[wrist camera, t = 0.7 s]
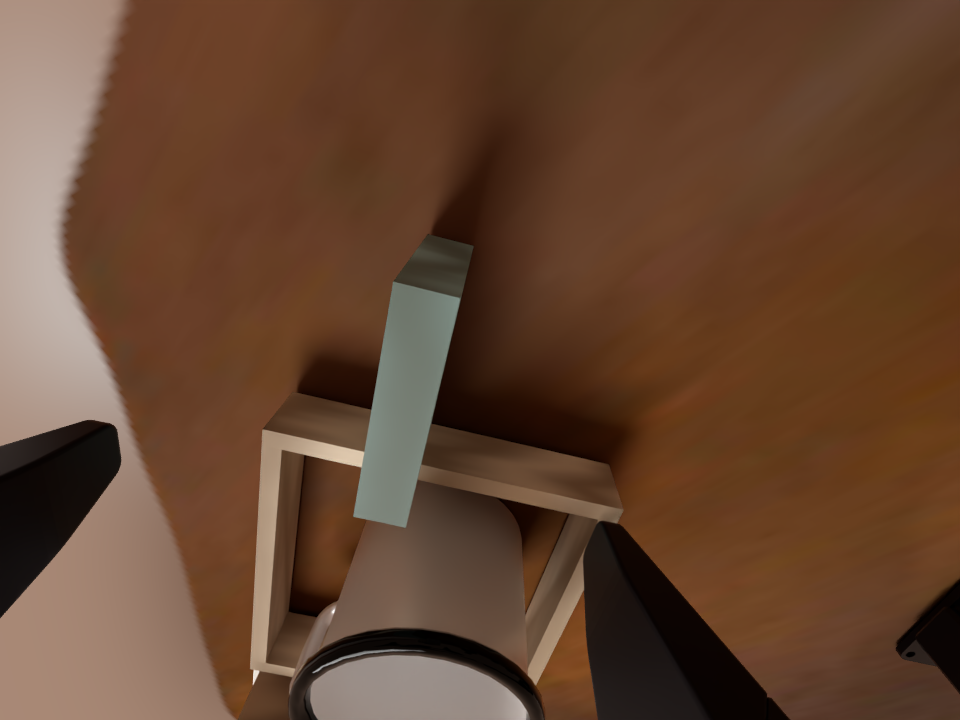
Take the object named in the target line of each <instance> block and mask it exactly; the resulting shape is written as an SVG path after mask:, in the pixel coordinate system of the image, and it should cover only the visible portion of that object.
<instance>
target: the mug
mask: <svg viewBox="0 0 960 720" xmlns="http://www.w3.org/2000/svg"><path fill="white" fill-rule="evenodd" d="M329 625H330V626H329ZM328 627H329V629H328ZM327 629H328V631H327ZM326 631H327V634H326V637H325V640H324V643H323V646H322V648H321V649H320V650H319V648H320V646H321V643H322V641H323V638H324V636H325V633H326ZM288 716H289V719H290V720H545V707H544V703H543V700H542V696H541V694H540V692H539V690H538V689H537V687H536V685H535V684H534V682H533V680H532V679H531V678H530V677H529V676H528V664H527V643H526V621H525V599H524V577H523V555H522V537H521V533H520V528H519V525H518V523H517V521H516V520H515V518H514V516H513V514H512V513H511V512H510V511H509V509H508V508H507V507H506V506H505V505H504V504H503V503H502V502H501V501H499V500H498V499H497V498H496V497H493V496H489V495H484V494H480V493H475V492H471V491H466V490H462V489H457V488H452V487H448V486H443V485H439V484H434V483H430V482H425V481H417V484H416V488H415V492H414V496H413V500H412V504H411V509H410V513H409V517H408V521H407V525H406V528H404V527H399V526H395V525H390V524H385V523H381V522H376V521H371V520H366V522H365V525H364V528H363V531H362V534H361V537H360V539H359V542H358V545H357V548H356V551H355V554H354V557H353V560H352V562H351V565H350V568H349V571H348V574H347V577H346V580H345V583H344V585H343V588H342V591H341V594H340V597H339V600H338V601H336V602H334V603H332V604H330V605H328V606H327V607H326V608H325V609H324V610H323V611H322V612H321V613H320V614H319V615H318V617H317V619H316V620H315V622H314V625H313V627H312V629H311V631H310V634H309V636H308V638H307V641H306V643H305V645H304V647H303V650H302V652H301V655H300V658H299V661H298V663H297V666H296V669H295V672H294V674H293V677H292V680H291V683H290V691H289V698H288Z"/></svg>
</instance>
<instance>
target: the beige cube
mask: <svg viewBox="0 0 960 720" xmlns="http://www.w3.org/2000/svg"><path fill="white" fill-rule="evenodd" d="M291 680H292V677H289V676H284V675H279V674H273V673H268V672H263V671H259V674H258V676H257V678H256V680H255V682H254V685H253V687H252V689H251V691H250V694H249V696H248V698H247V700H246V702H245V705H244V707H243V709H242V711H241V713H240V716H239V718H238V720H290V719H289V716H288V698H289V691H290V683H291Z"/></svg>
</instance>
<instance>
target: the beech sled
mask: <svg viewBox="0 0 960 720" xmlns="http://www.w3.org/2000/svg"><path fill="white" fill-rule="evenodd" d="M473 247H474V246H472V245H468V244H464V243H460V242H456V241H452V240H448V239H445V238H441V237H437V236H433V235H429V234H428V235H427V236H426V238H425V239H424V240H423V242H422V243H421V245H420V246H419V247H418V249H417V250H416V251H415V253H414V254H413V255H412V257H411V258H410V260H409V261H408V262H407V264H406V265H405V266H404V268H403V269H402V271H401V272H400V273H399V275H398V276H397V277H396V279H395V280H394V281H393V287H392V293H391V299H390V304H389V310H388V316H387V322H386V328H385V334H384V340H383V346H382V351H381V357H380V363H379V369H378V375H377V381H376V387H375V393H374V398H373V404H372V410H370V409H365V408H361V407H357V406H352V405H348V404H344V403H339V402H335V401H331V400H326V399H322V398H318V397H313V396H309V395H305V394H300V393H296V392H292V394H291V395H290V396H289V397H288V399H287V400H286V401H285V402H284V403H283V405H282V406H281V407H280V408H279V410H278V411H277V412H276V413H275V415H274V416H273V417H272V418H271V420H270V421H269V422H268V423H267V424H266V426H265V427H264V428H263V433H262V452H261V471H260V490H259V509H258V528H257V548H256V567H255V586H254V605H253V624H252V643H251V662H250V669H252V670H258V671H263V672H268V673H273V674H279V675H284V676H289V677H293V674H294V672H295V669H296V666H297V663H298V661H299V658H300V655H301V652H302V650H303V647H304V645H305V643H306V641H307V638H308V636H309V634H310V631H311V629H312V627H313V625H314V622H315V620H316V619H317V617H312V616H307V615H302V614H297V613H292V612H289V602H290V592H291V582H292V573H293V563H294V553H295V543H296V533H297V523H298V514H299V504H300V494H301V484H302V474H303V465H304V455H308V456H312V457H317V458H321V459H326V460H330V461H335V462H340V463H344V464H349V465H353V466H358V467H362V469H361V475H360V481H359V487H358V492H357V498H356V504H355V510H354V516H353V517H357V518H362V519H367V520H371V521H376V522H381V523H385V524H390V525H395V526H399V527H404V528H406V525H407V521H408V517H409V513H410V509H411V504H412V500H413V496H414V492H415V488H416V484H417V480H421V481H425V482H430V483H434V484H439V485H443V486H448V487H452V488H457V489H462V490H466V491H471V492H475V493H480V494H484V495H489V496H493V497H498V498H502V499H507V500H511V501H516V502H520V503H525V504H529V505H534V506H538V507H543V508H547V509H552V510H556V511H561V512H565V513H570V514H569V517H568V519H567V521H566V523H565V526H564V528H563V530H562V533H561V535H560V537H559V539H558V542H557V544H556V546H555V549H554V551H553V553H552V555H551V558H550V560H549V562H548V565H547V567H546V569H545V572H544V574H543V576H542V578H541V581H540V583H539V585H538V588H537V590H536V592H535V594H534V597H533V599H532V601H531V604H530V606H529V608H528V610H527V613H526V615H525V621H526V643H527V664H528V676H529V677H530V678H531V679H532V680H533V682H534V684H535V685H536V684H537V682H538V680H539V678H540V676H541V674H542V672H543V670H544V668H545V666H546V664H547V662H548V660H549V658H550V656H551V654H552V652H553V650H554V648H555V646H556V644H557V642H558V640H559V638H560V636H561V634H562V632H563V630H564V628H565V626H566V624H567V622H568V620H569V618H570V616H571V614H572V612H573V610H574V608H575V606H576V604H577V602H578V600H579V598H580V596H581V594H582V592H583V590H584V575H583V556H584V551H585V548H586V546H587V544H588V541H589V539H590V537H591V535H592V532H593V530H594V528H595V526H596V524H597V523H598V522H599V521H608V522H613V523H617V522H618V520H619V518H620V516H621V514H622V512H623V506H622V503H621V500H620V497H619V494H618V491H617V488H616V485H615V482H614V478H613V475H612V472H611V469H610V466H609V464H605V463H600V462H596V461H592V460H587V459H583V458H579V457H574V456H570V455H566V454H561V453H557V452H553V451H548V450H544V449H540V448H535V447H531V446H527V445H522V444H518V443H513V442H509V441H505V440H500V439H496V438H492V437H487V436H483V435H479V434H474V433H470V432H466V431H461V430H457V429H453V428H448V427H444V426H439V425H435V424H431V423H432V419H433V414H434V410H435V406H436V402H437V398H438V393H439V389H440V385H441V381H442V377H443V373H444V368H445V364H446V360H447V356H448V352H449V347H450V343H451V339H452V335H453V331H454V327H455V322H456V318H457V314H458V310H459V306H460V301H461V297H462V293H463V289H464V285H465V281H466V276H467V272H468V268H469V264H470V260H471V255H472V251H473ZM329 626H330V625H329ZM328 629H329V627H328ZM328 629H327V631H328ZM327 631H326V633H325V636H324V638H323V641H322V643H321V646H320V648H319V650H320V649H321V648H322V646H323V643H324V640H325V637H326V634H327Z"/></svg>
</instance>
